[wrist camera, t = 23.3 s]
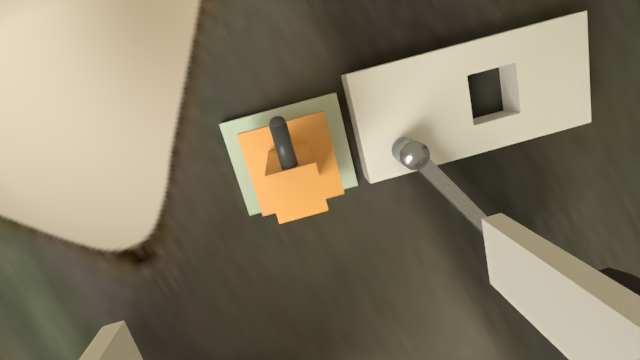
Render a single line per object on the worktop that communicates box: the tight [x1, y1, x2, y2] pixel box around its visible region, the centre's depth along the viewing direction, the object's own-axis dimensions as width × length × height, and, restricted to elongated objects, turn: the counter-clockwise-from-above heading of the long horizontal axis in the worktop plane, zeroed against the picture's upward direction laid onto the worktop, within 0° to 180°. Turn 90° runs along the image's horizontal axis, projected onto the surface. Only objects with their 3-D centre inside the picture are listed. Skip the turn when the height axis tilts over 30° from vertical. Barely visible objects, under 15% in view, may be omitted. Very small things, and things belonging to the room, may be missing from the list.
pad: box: [219, 93, 358, 215], centre depth 38 cm, size 12×10×1 cm
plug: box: [237, 111, 345, 224], centre depth 31 cm, size 8×9×13 cm
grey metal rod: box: [396, 139, 487, 236], centre depth 37 cm, size 21×3×2 cm, turn 46°
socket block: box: [341, 11, 591, 184], centre depth 37 cm, size 24×11×4 cm, turn 103°
